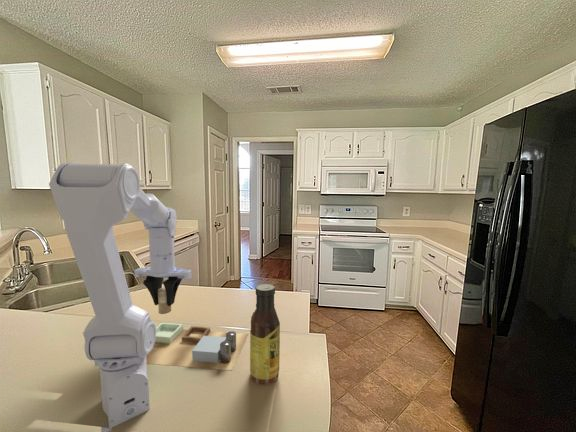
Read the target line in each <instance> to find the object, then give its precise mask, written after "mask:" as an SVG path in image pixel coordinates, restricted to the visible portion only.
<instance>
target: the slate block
mask: <svg viewBox="0 0 576 432" xmlns="http://www.w3.org/2000/svg"><path fill="white" fill-rule="evenodd" d="M223 341H226V337H215V336H203V337H202V338H201V340H200V341H199V342H198V344H197V345H196V346H195V348H194V349H193V350H192V359H193V361H199V362H211V363H218V362H219V360H220V343H221V342H223Z"/></svg>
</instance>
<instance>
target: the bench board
mask: <svg viewBox="0 0 576 432" xmlns="http://www.w3.org/2000/svg"><path fill="white" fill-rule="evenodd" d="M226 333H228V332H225V331H224V332H223V331H213V330H212V331H211V327H209V326H195V325H194V326H193V325H192V326H190V327H189V329H183V331H182V332H181V333H180V334H179V336H178V337H177V338H176V339H175V340H174V341H173V342H172V343H171V344H162V343H154V346H153V348H152V350H151V351H150V352H149V354H148V355H147V356H146V360H147V364H148V365H160V366H172V367H183V368H184V367H186V368H198V369H209V370H221V371H233V369H234V368H235V366H236V363H237V361H238V358H239V356H240V355H241V352H242V350H243V348H244V345H245V343H246V341H247V338H248V337H249V333H239V332H236V351H234V352H231V361H230V362H229V363H227V364H222V363H221V362H220V360H219V362H218V363H211V362H199V361H193V359H192V350H193V349H194V348H195V346H196V345H197V344H198V342H199V341H200V340H201V338H202V337H203V336H215V337H226Z"/></svg>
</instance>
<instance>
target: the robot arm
mask: <svg viewBox="0 0 576 432" xmlns="http://www.w3.org/2000/svg"><path fill="white" fill-rule="evenodd" d="M140 182H141V180H140V176H139V173H138V171H137V170H136V169H135V168H134V166H132V165H131V164H130V163H121V164H118V163H117V164H116V163H115V164H113V163H112V164H110V163H108V164H106V163H105V164H104V163H73V162H63V163H61V164H59V165H58V167H56V169H55V171H54V173H53V175H52V177H51V179H50V181H49V183H48V186H49V189H50V192H51V194H52V197H53V200H54V203H55V205H56V209H57V211H58V214H59V217H60V219H61V220H62V221H63V225H64V229H65V233H66V235H67V239H68V242H69V244H70V247H71V250H72V253H73V255H74V259H75V261H76V264H77V267H78V270H79V273H80V276H81V278H82V281H83V284H84V287H85V289H86V293H87V295H88V299H89V300H90V304H91V306H92V309H93V312H94V314H95V315H94V316H93V317H92V318H91V319H90V321H88V323H87V325H86V326H85V328H84V331H83V332H82V335H83V338H84V348H83V349H84V353H85V356H86V358H87V359H88V360H89V361H94V367H99V377H100V391H101V404H102V407H101V408H102V411H103V412H104V413H105V414H106V416H107V419H108V426H101V427H100V428H101V432H112V431H113V428H114V427H116V426H119V425H120V424H123V423H125V422H127V421H129V420H131V419H133V418H135V417H137V416H139V415H141V414H143V413H145V412H148V411H149V410H151V408H150V407H151V406H150V388H149V378H148V365H147V360H146V356H147V355H148V354H149V352H150V351H151V350H152V348H153V346H154V342H155V338H156V327H157V326H156V324H155V322H154V321H153V320H152V319H151V317H150V314H149V311H146V310H145V309H143V308H142V307H141V308H140V307H138V306H137V305H134V304H133V299H132V297H131V294H130V290H129V286H128V282H127V279H126V275H125V271H124V267H123V263H122V260H121V257H120V252H119V248H118V246H117V241H116V237H115V234H114V229H113V228H114V226H115V225H116V224H118V223H120V222H122V221H124V220H126V218H127V216H128V214H129V213H130V211H132V214H133V216H135V217H137V218H138V219H139V220H141V222H142V223H143V227H144V229H145V230H148V243H149V245H148V246H149V263H150V264H149V265H150V267H138V268H136V269H134V278H140V277H141V278H142V277H143V278H145V277H146V278H145V280H143V282H142V285H144V286H145V288H146V290H148V292H149V294H150V296H151V298H152V301H153V303H154V306H158V289H160V288H164V287H165V290H166V296H167V305H168V306H171V307H172V305H174V304H175V301H176V300H175V299H176V295H177V291H178V288H179V286H180V284H181V282H182V280H183V279H184V280H189V279H191V278H192V276H193V275H192V269H186V268H185V269H184V268H180V267H176V263H175V261H176V260H175V258H176V257H175V236H176V228H177V227H176V226H177V222H178V221H177V220H178V217H177V212H176V210H175V209H173V208H172V207H171V206H169V207H167V206H165V205H164V203H162V202H161V201H160V199H158V198H157V197H156V196H155V194H153V193H145V192H144V190H143V189H142V188H141V183H140ZM165 278H166V280H164V279H165ZM163 280H164V281H163Z"/></svg>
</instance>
